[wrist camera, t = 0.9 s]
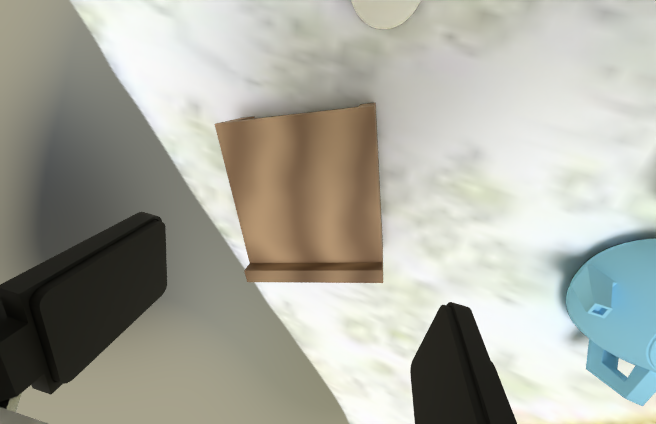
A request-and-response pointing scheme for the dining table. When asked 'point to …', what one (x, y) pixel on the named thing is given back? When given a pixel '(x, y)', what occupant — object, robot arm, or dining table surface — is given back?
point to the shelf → (307, 194)
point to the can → (384, 12)
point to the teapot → (619, 316)
